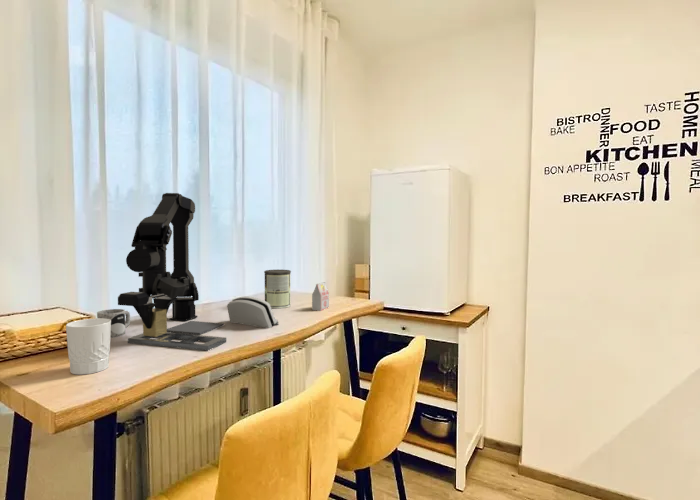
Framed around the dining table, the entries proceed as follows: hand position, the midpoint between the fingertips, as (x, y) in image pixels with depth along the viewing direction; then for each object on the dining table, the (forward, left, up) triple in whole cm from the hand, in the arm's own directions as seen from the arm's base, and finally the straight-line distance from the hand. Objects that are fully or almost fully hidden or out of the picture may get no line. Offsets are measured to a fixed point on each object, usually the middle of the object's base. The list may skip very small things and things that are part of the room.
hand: (155, 326), depth 104 cm
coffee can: (+10, +54, -4) cm, 55 cm away
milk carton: (+28, +54, -4) cm, 61 cm away
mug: (-16, +3, -4) cm, 17 cm away
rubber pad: (+2, +14, -4) cm, 15 cm away
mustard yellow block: (0, 0, -2) cm, 2 cm away
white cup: (+3, -22, -4) cm, 23 cm away
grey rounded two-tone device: (+15, +24, -4) cm, 29 cm away
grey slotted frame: (+7, 0, -4) cm, 8 cm away
